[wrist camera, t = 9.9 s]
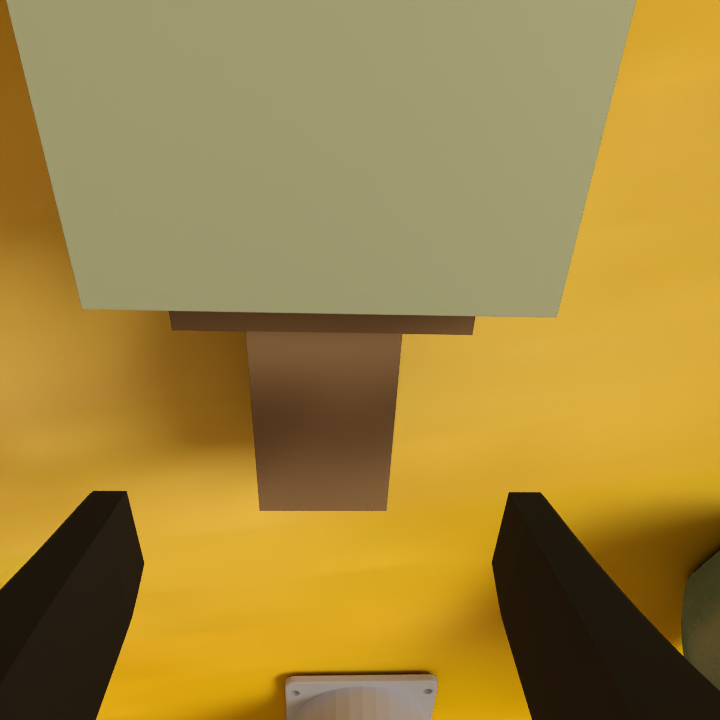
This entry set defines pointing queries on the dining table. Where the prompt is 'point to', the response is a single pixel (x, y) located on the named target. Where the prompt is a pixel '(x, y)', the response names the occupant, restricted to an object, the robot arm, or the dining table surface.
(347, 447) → the brown collared bar
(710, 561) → the flower pot
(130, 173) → the block
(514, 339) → the dining table surface
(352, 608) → the dining table surface
